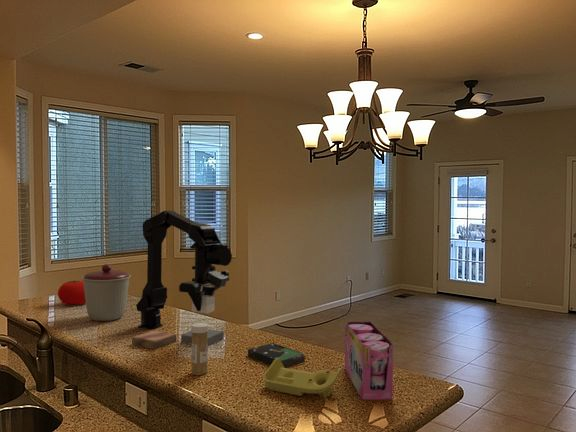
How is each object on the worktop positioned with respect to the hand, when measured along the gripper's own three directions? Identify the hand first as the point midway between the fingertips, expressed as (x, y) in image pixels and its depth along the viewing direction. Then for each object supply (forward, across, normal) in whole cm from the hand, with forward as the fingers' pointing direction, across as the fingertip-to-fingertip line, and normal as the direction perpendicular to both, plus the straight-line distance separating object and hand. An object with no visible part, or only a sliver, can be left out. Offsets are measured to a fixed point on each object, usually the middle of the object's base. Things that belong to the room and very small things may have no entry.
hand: (203, 309), depth 167 cm
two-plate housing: (0, 0, 0) cm, 0 cm away
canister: (+11, +6, +50) cm, 52 cm away
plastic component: (+11, -23, -47) cm, 54 cm away
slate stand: (+10, 0, 0) cm, 11 cm away
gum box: (+11, -10, -60) cm, 62 cm away
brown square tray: (+10, -10, +12) cm, 19 cm away
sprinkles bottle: (+11, -25, -17) cm, 32 cm away
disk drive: (+11, -4, -30) cm, 32 cm away
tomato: (+11, +17, +80) cm, 83 cm away
